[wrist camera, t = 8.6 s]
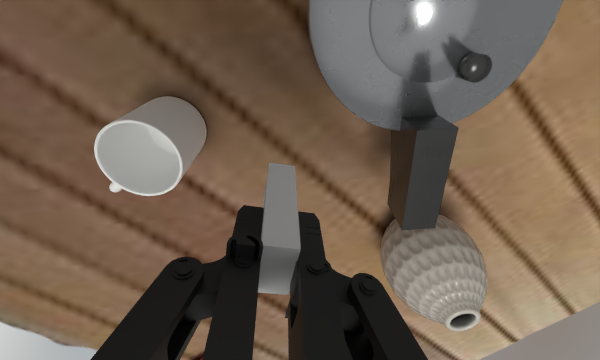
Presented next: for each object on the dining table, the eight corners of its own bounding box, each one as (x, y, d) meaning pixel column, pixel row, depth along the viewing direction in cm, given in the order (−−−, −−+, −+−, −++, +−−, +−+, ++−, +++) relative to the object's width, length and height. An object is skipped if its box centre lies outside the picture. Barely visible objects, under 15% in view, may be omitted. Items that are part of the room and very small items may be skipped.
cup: (221, 129, 37) (199, 163, 28) (166, 182, 40) (131, 227, 31) (168, 80, 33) (124, 101, 24) (113, 142, 37) (58, 180, 28)
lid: (297, -254, 15) (300, -355, 11) (641, -280, 15) (770, -391, 11) (316, 207, 31) (320, 236, 27) (486, 195, 31) (517, 222, 26)
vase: (465, 214, 45) (548, 306, 30) (412, 264, 50) (461, 363, 36) (404, 181, 41) (465, 267, 27) (354, 238, 47) (383, 336, 32)
